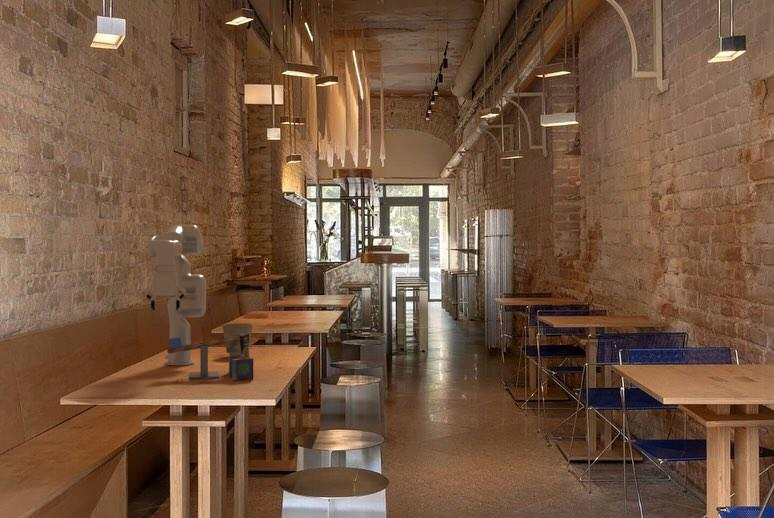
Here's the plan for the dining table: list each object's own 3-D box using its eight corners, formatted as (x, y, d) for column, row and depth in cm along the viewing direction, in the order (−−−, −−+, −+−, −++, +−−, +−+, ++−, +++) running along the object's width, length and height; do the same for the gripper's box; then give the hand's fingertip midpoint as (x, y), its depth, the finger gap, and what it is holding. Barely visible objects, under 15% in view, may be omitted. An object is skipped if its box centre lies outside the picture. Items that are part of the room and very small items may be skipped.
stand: (189, 379, 350) (189, 347, 350) (189, 374, 364) (189, 343, 364) (237, 378, 355) (236, 345, 354) (235, 373, 368) (235, 342, 368)
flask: (233, 381, 346) (233, 355, 346) (230, 380, 349) (230, 354, 348) (254, 379, 351) (254, 354, 351) (251, 378, 353) (251, 353, 353)
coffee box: (242, 372, 371) (242, 335, 370) (228, 371, 372) (228, 335, 372) (249, 369, 380) (249, 333, 379) (236, 368, 381) (236, 333, 381)
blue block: (170, 350, 353) (168, 339, 353) (170, 349, 357) (168, 338, 357) (182, 348, 354) (180, 337, 354) (182, 347, 358) (180, 336, 358)
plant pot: (258, 355, 426) (258, 324, 425) (239, 358, 413) (238, 326, 412) (236, 353, 433) (235, 322, 433) (216, 356, 420) (216, 325, 420)
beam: (169, 363, 351) (167, 350, 351) (169, 360, 359) (167, 348, 359) (241, 351, 358) (239, 338, 358) (240, 348, 366) (238, 336, 365)
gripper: (143, 269, 349) (143, 311, 350) (186, 269, 353) (186, 310, 353) (144, 269, 357) (144, 309, 357) (186, 269, 360) (186, 309, 360)
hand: (165, 310), depth 355 cm, fingers open, 9 cm apart
